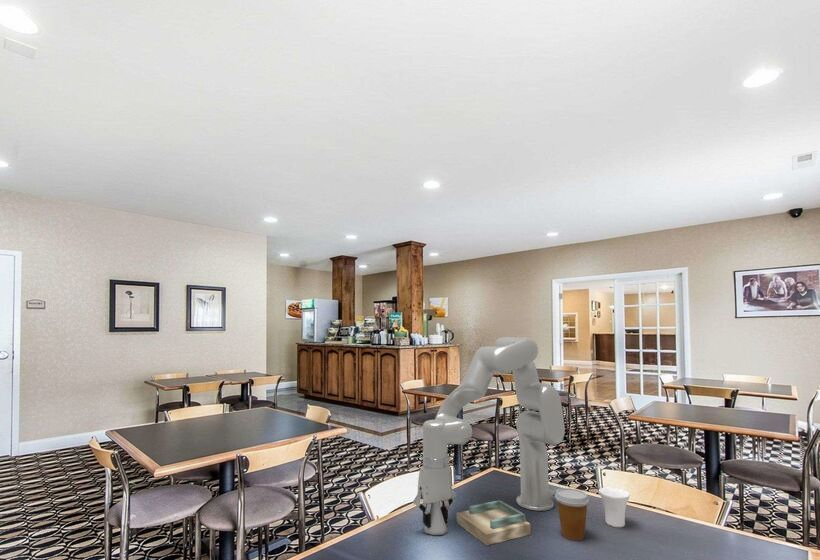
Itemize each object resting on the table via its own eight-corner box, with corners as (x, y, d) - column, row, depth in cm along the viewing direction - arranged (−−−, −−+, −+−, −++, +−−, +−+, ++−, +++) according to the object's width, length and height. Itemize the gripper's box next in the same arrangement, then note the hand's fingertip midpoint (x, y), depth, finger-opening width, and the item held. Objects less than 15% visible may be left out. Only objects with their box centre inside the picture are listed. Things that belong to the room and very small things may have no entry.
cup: (596, 516, 140) (594, 484, 142) (626, 519, 139) (625, 487, 140) (602, 528, 132) (601, 494, 133) (635, 532, 130) (633, 497, 131)
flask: (446, 537, 126) (445, 501, 127) (421, 534, 127) (421, 499, 128) (448, 526, 133) (448, 492, 134) (425, 524, 134) (425, 490, 135)
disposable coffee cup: (574, 546, 121) (572, 501, 122) (549, 532, 129) (548, 490, 131) (597, 539, 125) (595, 496, 127) (571, 525, 134) (570, 485, 135)
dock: (497, 513, 142) (497, 497, 143) (530, 534, 128) (530, 516, 129) (456, 522, 136) (456, 506, 136) (486, 545, 121) (486, 526, 122)
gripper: (452, 455, 139) (453, 514, 137) (405, 462, 132) (405, 524, 130) (465, 461, 133) (466, 523, 131) (415, 469, 125) (416, 535, 123)
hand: (435, 523), depth 130 cm, fingers closed on flask, 5 cm apart
